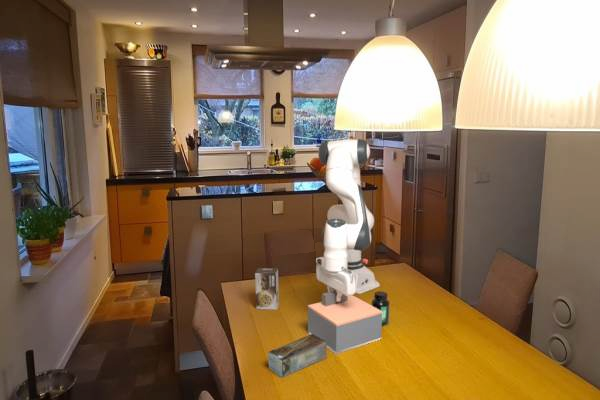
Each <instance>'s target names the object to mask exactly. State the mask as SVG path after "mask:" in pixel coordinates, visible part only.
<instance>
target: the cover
mask: <svg viewBox="0 0 600 400" xmlns="http://www.w3.org/2000/svg"><path fill="white" fill-rule="evenodd" d="M335 296H337V290H334V291H333V292H329V291H327V292H324V293H322V294H321V301H319V302H316V303H312V304H308V305H307V309H308V308H310V309H311V310H313V311H314V312H316V313H317V314H319V315H320V316H322V317H323V318H325V319H326V320H328V321H329V322H331V323H332V324H334V325H335V326H340V325H344V324H347V323H351V322H354V321H357V320H361V319H364V318H368V317H371V316H375V315H378V314H382V311H381V310H379V309H377V308H375V307H373V306H372V304H369V303H368V302H366V301H364V300H362V299H360V298H359V297H357V296H354V295H351V296H346V295H344V294H342V296H341V301H339V302H338V301H336V300H335Z"/></svg>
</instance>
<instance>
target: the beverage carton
mask: <svg viewBox="0 0 600 400" xmlns="http://www.w3.org/2000/svg"><path fill="white" fill-rule="evenodd" d="M267 354H268V356H267V357H268V358H267V360H268V361H267V364H268V369H269V370H271V371H272V372H274V373H275V374H276V375H278V376H279V377H280V378H282V379H283V378H285V377H287V376H289V375H292V374H294V373H296V372H299V371H301V370H302V369H305V368H306V367H309V366H311V365H313V364H315V363H318V362H319V361H323V360H325V359H327V347H326V341H325V340H322V339H321V338H319V337H317V336H315V335H313V334H311V335H310V334H308V335H306V336H304V337H301V338H299V339H296V340H294V341H292V342H290V343H289V342H288V343H287V344H285V345H282V346H280V347H277V348H275V349H272V350H268V352H267Z"/></svg>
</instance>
